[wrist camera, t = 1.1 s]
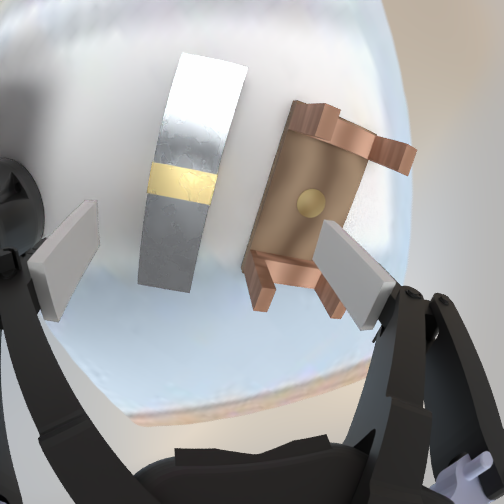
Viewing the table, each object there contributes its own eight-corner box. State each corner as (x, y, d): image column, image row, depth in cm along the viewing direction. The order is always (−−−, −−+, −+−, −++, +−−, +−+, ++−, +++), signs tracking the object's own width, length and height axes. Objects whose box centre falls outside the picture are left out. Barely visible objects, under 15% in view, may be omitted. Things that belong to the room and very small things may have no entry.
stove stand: (241, 267, 37) (252, 314, 29) (293, 100, 28) (327, 98, 19) (313, 278, 40) (339, 322, 32) (370, 133, 31) (418, 145, 22)
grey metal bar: (191, 265, 36) (190, 293, 30) (145, 256, 34) (136, 284, 29) (241, 76, 26) (249, 67, 20) (186, 64, 24) (181, 52, 19)
